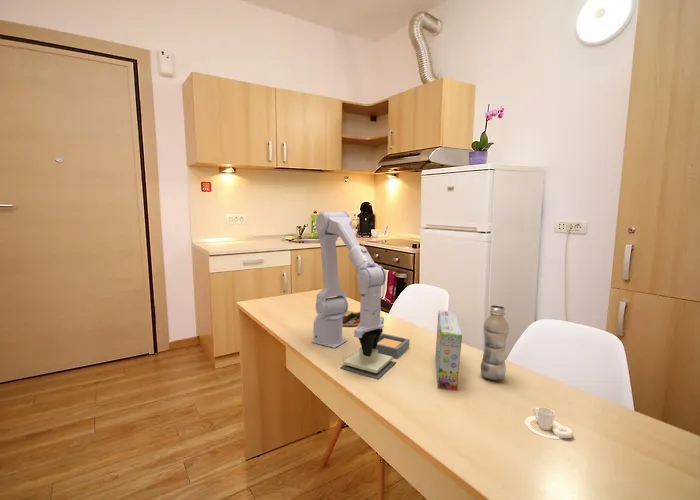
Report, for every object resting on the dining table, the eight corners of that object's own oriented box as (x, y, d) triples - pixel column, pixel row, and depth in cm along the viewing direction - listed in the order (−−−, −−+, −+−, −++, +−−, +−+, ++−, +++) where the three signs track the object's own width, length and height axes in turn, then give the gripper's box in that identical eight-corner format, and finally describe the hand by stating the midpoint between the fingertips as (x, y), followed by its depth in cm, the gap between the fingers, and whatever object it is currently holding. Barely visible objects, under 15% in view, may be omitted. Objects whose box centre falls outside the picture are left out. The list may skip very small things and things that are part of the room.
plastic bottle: (504, 374, 100) (509, 305, 98) (506, 385, 94) (511, 311, 92) (479, 370, 103) (484, 302, 100) (480, 381, 96) (485, 309, 94)
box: (368, 351, 114) (368, 342, 114) (381, 341, 123) (381, 333, 123) (397, 358, 109) (397, 349, 109) (409, 347, 118) (409, 339, 118)
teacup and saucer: (579, 441, 73) (581, 422, 72) (545, 446, 71) (547, 426, 71) (547, 416, 81) (549, 399, 81) (516, 420, 80) (518, 402, 79)
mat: (340, 368, 102) (340, 367, 102) (360, 354, 112) (360, 352, 112) (378, 379, 96) (378, 378, 96) (396, 363, 106) (396, 361, 106)
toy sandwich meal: (355, 329, 135) (355, 317, 134) (325, 323, 141) (325, 312, 140) (369, 320, 146) (370, 309, 145) (341, 315, 152) (341, 304, 151)
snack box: (459, 391, 91) (463, 334, 89) (437, 388, 92) (439, 332, 90) (453, 357, 112) (455, 310, 110) (434, 355, 113) (436, 308, 111)
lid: (343, 365, 102) (343, 351, 102) (361, 352, 111) (361, 339, 111) (376, 374, 97) (376, 359, 96) (392, 360, 106) (392, 346, 106)
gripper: (371, 317, 94) (369, 366, 96) (393, 304, 106) (392, 348, 108) (348, 312, 97) (347, 360, 99) (372, 301, 110) (371, 343, 111)
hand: (369, 354), depth 104 cm, fingers closed on lid, 2 cm apart
